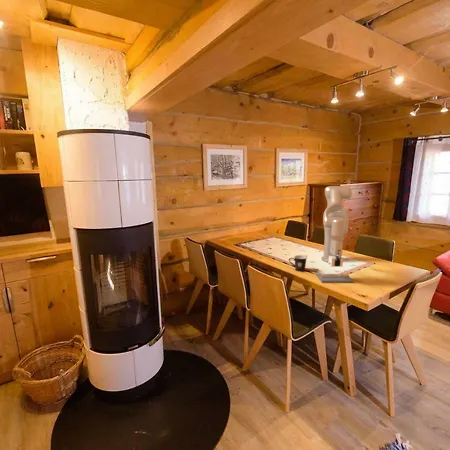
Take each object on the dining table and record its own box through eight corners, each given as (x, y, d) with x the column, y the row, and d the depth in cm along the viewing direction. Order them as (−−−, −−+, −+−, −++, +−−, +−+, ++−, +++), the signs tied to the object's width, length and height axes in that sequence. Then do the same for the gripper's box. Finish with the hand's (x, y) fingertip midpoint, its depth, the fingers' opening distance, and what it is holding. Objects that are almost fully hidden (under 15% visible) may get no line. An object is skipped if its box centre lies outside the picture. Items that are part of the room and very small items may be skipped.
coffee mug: (308, 270, 199) (308, 256, 198) (302, 273, 194) (302, 259, 192) (294, 266, 208) (294, 253, 206) (288, 269, 202) (288, 256, 200)
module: (328, 263, 183) (328, 254, 182) (338, 263, 183) (339, 254, 182) (331, 266, 177) (332, 257, 176) (342, 266, 177) (343, 257, 176)
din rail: (320, 276, 183) (320, 273, 183) (347, 276, 183) (347, 273, 182) (321, 277, 181) (321, 275, 181) (348, 277, 180) (349, 275, 180)
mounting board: (316, 275, 188) (316, 273, 188) (345, 275, 188) (346, 273, 187) (321, 282, 177) (321, 280, 176) (353, 282, 176) (353, 280, 175)
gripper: (327, 235, 185) (325, 260, 189) (336, 241, 168) (334, 268, 172) (338, 235, 185) (336, 260, 188) (348, 241, 168) (346, 268, 171)
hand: (335, 264), depth 180 cm, fingers closed on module, 6 cm apart
